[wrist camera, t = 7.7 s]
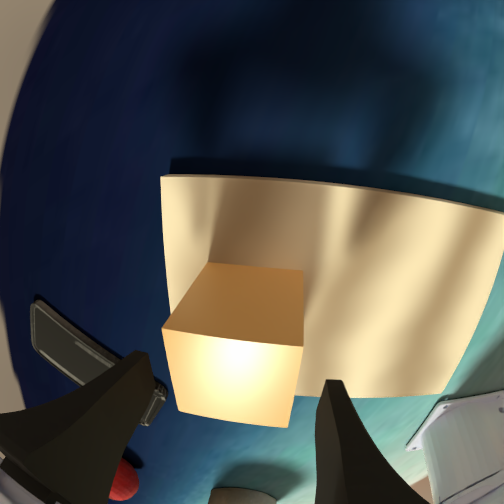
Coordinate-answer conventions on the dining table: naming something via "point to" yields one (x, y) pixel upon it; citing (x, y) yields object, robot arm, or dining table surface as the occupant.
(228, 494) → the pillar candle
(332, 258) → the board
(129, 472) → the tomato
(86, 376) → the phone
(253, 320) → the tan foam cube
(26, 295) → the dining table surface
